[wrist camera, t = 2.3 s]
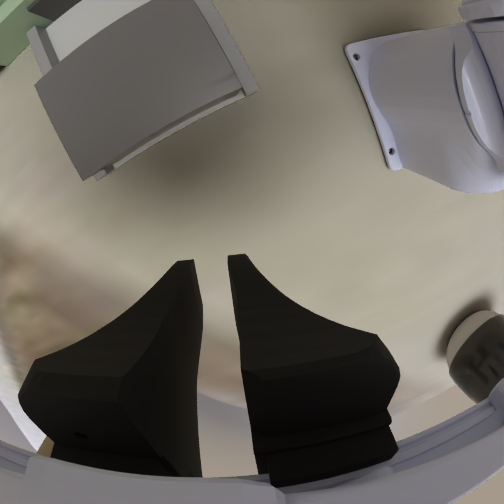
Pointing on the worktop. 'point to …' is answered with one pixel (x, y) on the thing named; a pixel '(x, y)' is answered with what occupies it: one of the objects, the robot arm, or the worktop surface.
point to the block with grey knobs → (87, 25)
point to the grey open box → (135, 83)
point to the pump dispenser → (477, 354)
